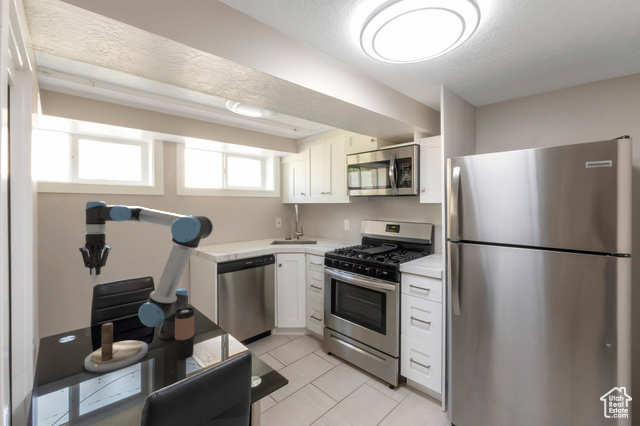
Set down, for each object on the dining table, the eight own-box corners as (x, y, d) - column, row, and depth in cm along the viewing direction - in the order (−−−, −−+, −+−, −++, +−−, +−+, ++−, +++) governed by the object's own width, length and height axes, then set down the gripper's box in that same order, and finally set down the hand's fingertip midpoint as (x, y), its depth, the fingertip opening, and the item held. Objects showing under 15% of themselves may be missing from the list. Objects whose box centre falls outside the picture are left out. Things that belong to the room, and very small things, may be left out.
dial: (108, 343, 126) (108, 311, 126) (150, 341, 128) (150, 309, 129) (79, 365, 108) (79, 327, 108) (128, 362, 110) (128, 325, 110)
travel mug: (186, 361, 115) (186, 314, 116) (170, 359, 117) (170, 312, 117) (197, 352, 123) (197, 308, 123) (182, 350, 124) (183, 306, 125)
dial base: (156, 343, 131) (156, 339, 131) (132, 369, 109) (132, 364, 109) (105, 347, 127) (105, 342, 127) (70, 374, 106) (70, 368, 106)
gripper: (115, 232, 137) (114, 279, 137) (85, 232, 135) (85, 280, 135) (105, 233, 130) (105, 283, 129) (74, 233, 127) (74, 284, 127)
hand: (95, 281), depth 132 cm, fingers closed
